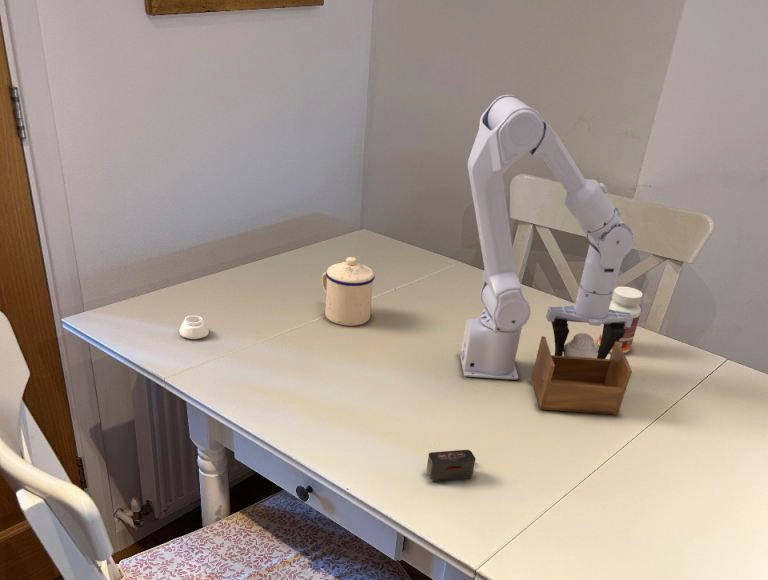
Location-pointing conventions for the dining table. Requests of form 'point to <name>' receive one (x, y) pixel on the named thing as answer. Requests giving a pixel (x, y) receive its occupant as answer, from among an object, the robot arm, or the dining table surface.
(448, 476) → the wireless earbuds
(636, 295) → the pill bottle
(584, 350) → the white swirled dome
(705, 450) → the dining table surface
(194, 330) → the white jar
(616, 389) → the wooden crate
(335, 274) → the teacup with lid
